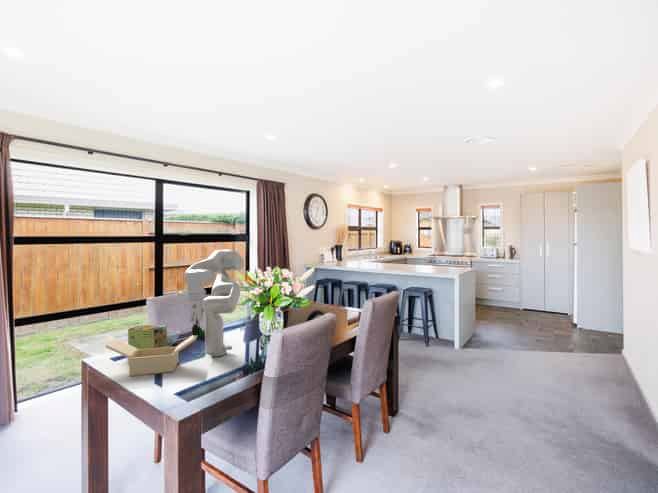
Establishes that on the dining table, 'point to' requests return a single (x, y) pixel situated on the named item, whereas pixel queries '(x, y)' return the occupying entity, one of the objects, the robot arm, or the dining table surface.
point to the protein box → (148, 336)
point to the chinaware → (172, 337)
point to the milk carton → (201, 326)
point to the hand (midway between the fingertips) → (196, 334)
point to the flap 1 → (121, 348)
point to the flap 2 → (185, 343)
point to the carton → (153, 361)
